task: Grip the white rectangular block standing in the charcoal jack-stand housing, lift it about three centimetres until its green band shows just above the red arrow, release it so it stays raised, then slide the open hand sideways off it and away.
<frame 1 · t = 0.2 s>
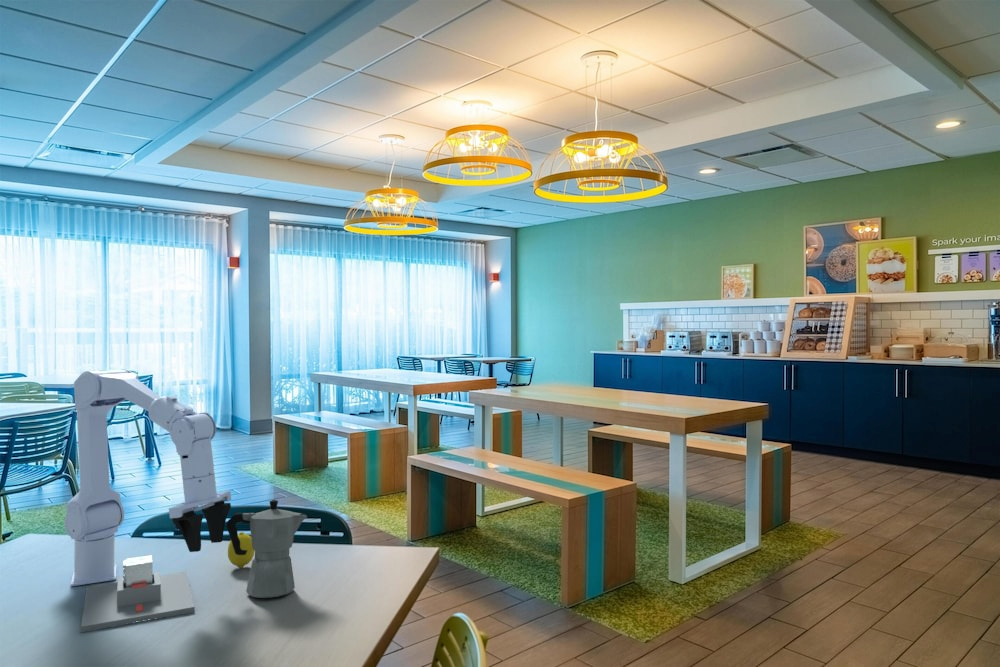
hand: (206, 546, 129), 11 cm above the table, tool pointing down, fingers open, 5 cm apart
coffeepot: (264, 592, 134), on the table, touching gripper
lemon: (241, 569, 147), on the table
jack base: (138, 601, 129), on the table
white rectangular block: (137, 578, 129), point 5 cm above the table, slide at 0.0 cm
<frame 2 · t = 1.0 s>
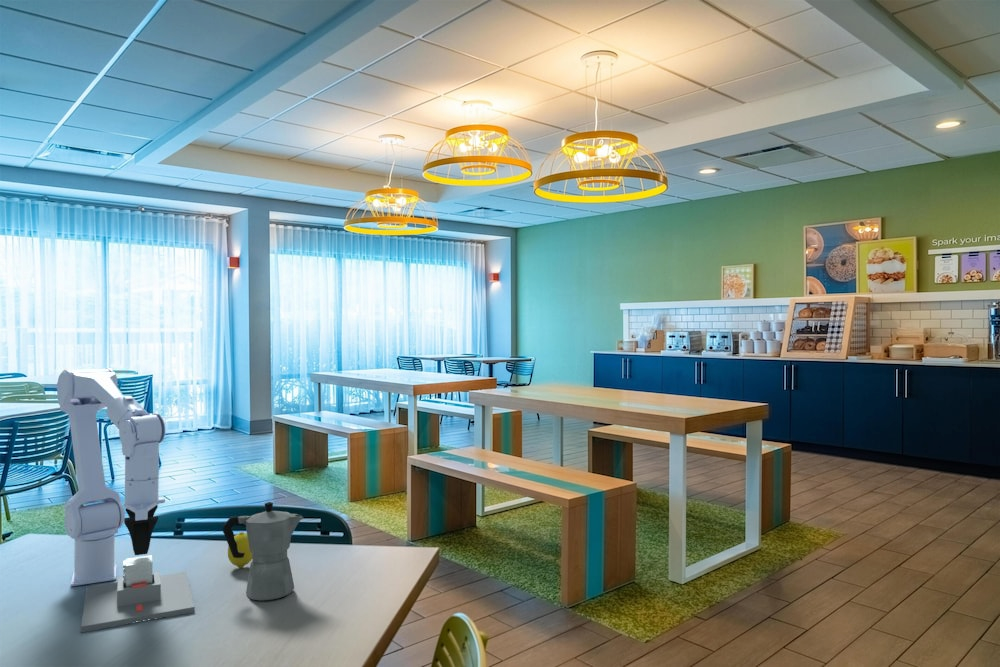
hand: (141, 548, 129), 10 cm above the table, tool pointing down, fingers open, 7 cm apart
coffeepot: (264, 593, 134), on the table
everything else where it was.
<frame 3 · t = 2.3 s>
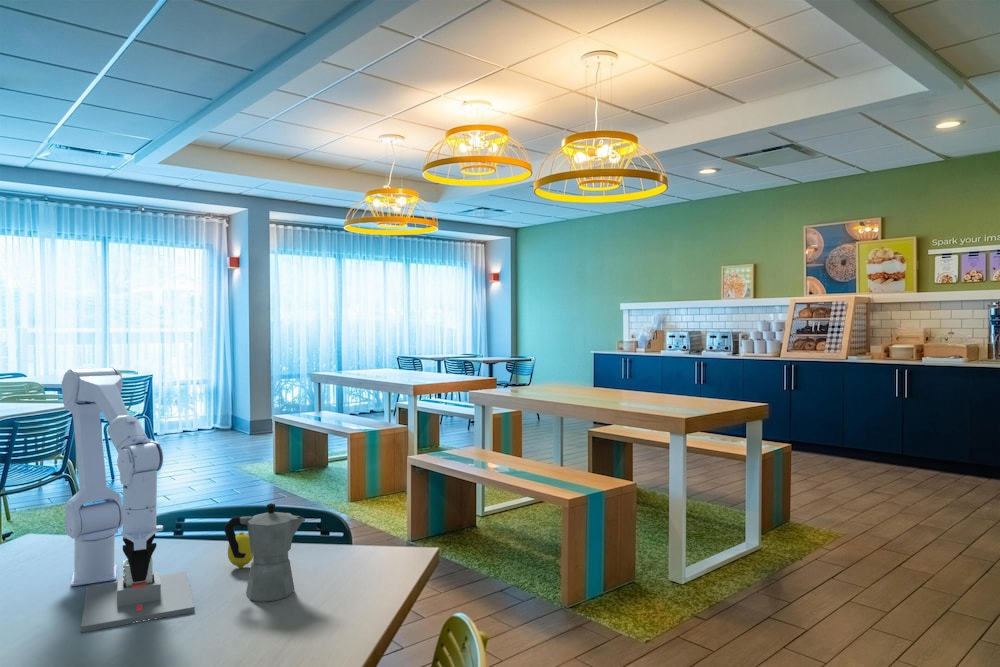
hand: (139, 576, 129), 5 cm above the table, tool pointing down, fingers closed on white rectangular block, 4 cm apart
white rectangular block: (137, 578, 129), point 5 cm above the table, slide at 0.0 cm, touching gripper
everything else where it was.
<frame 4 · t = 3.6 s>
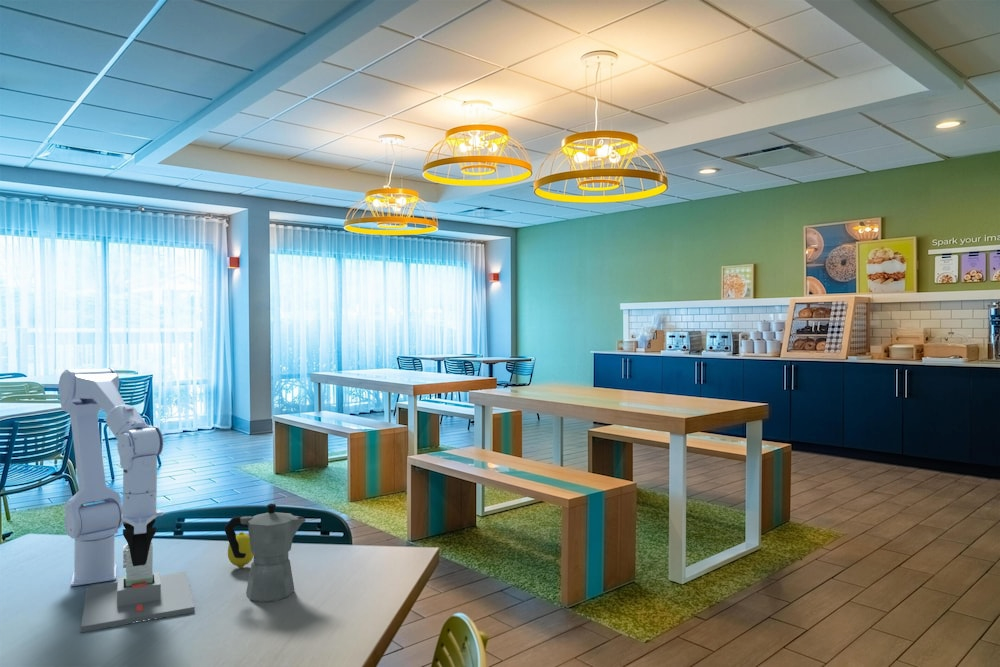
hand: (139, 560, 129), 8 cm above the table, tool pointing down, fingers closed on white rectangular block, 4 cm apart
white rectangular block: (138, 563, 129), point 7 cm above the table, slide at 2.9 cm, touching gripper
everything else where it was.
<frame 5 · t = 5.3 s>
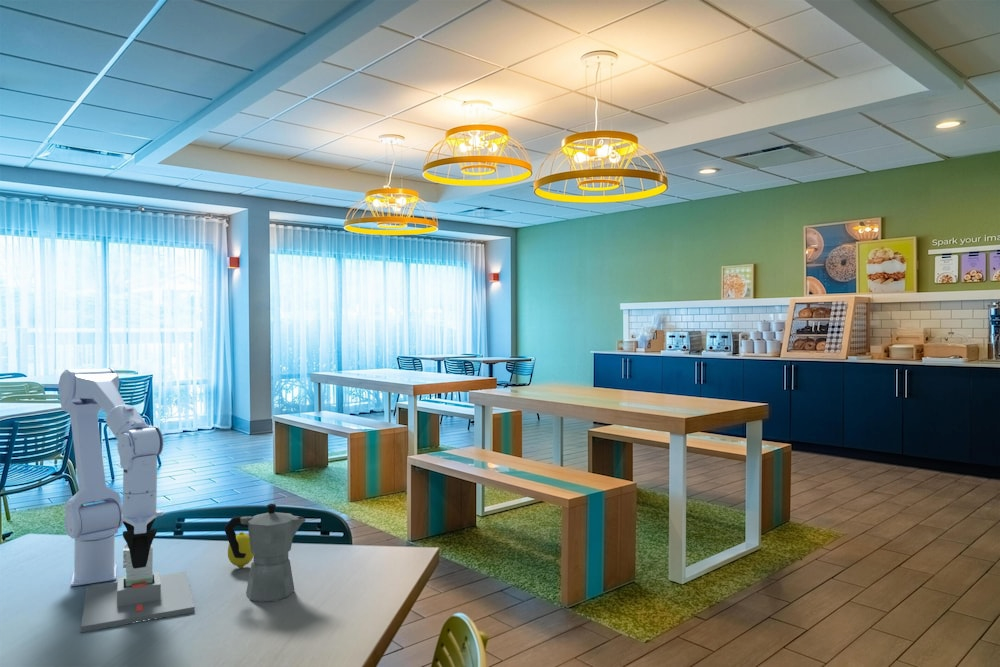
hand: (139, 560, 129), 8 cm above the table, tool pointing down, fingers open, 7 cm apart
white rectangular block: (138, 563, 129), point 7 cm above the table, slide at 2.9 cm
everything else where it was.
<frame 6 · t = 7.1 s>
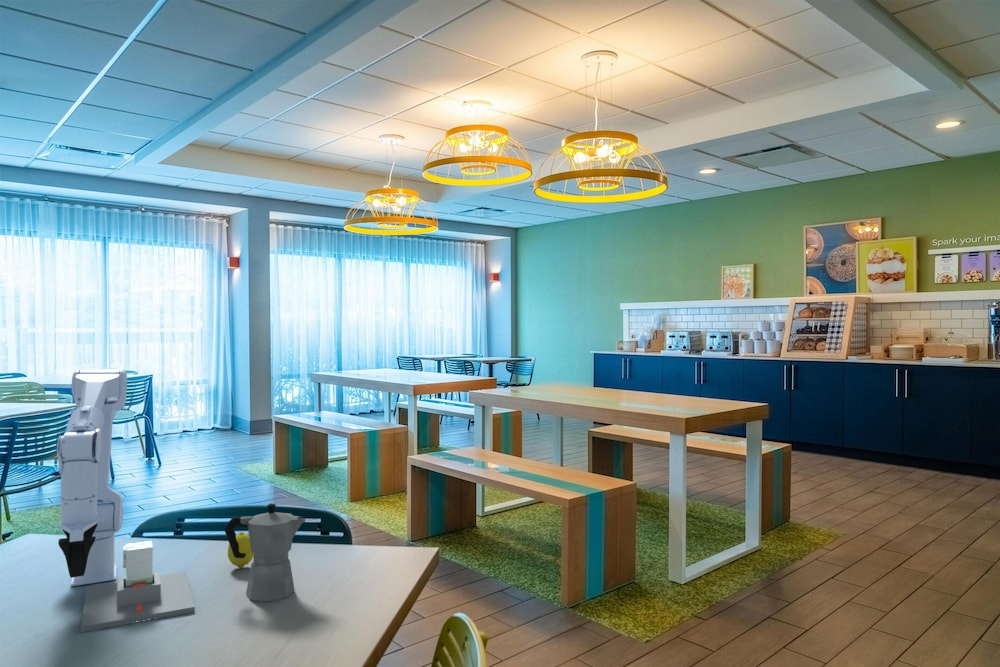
hand: (78, 569, 124), 8 cm above the table, tool pointing down, fingers open, 7 cm apart
nothing on the table moved.
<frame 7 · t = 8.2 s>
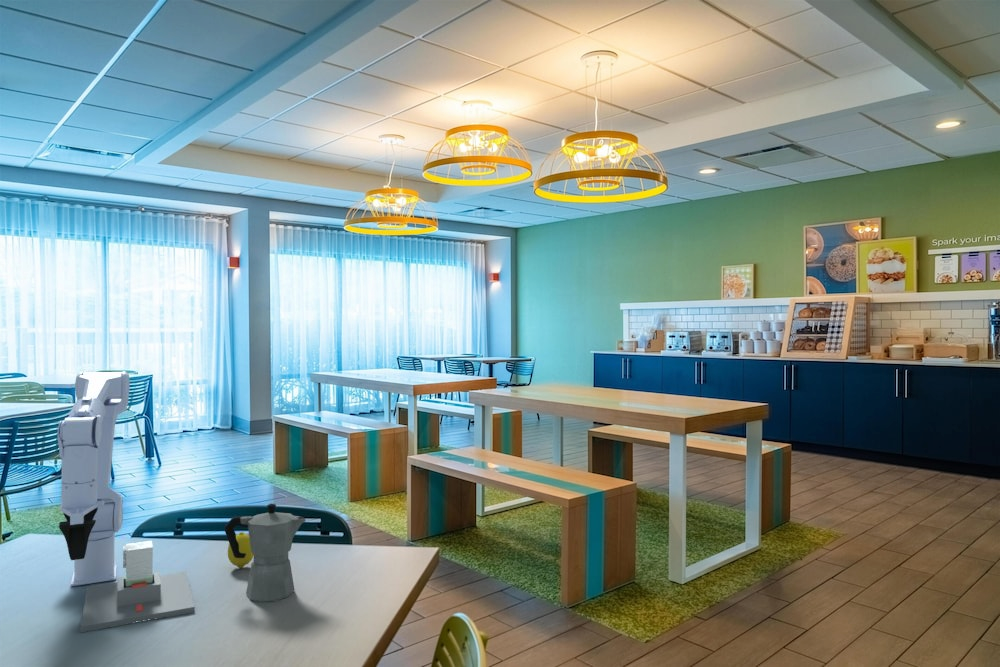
hand: (78, 552, 125), 10 cm above the table, tool pointing down, fingers open, 7 cm apart
nothing on the table moved.
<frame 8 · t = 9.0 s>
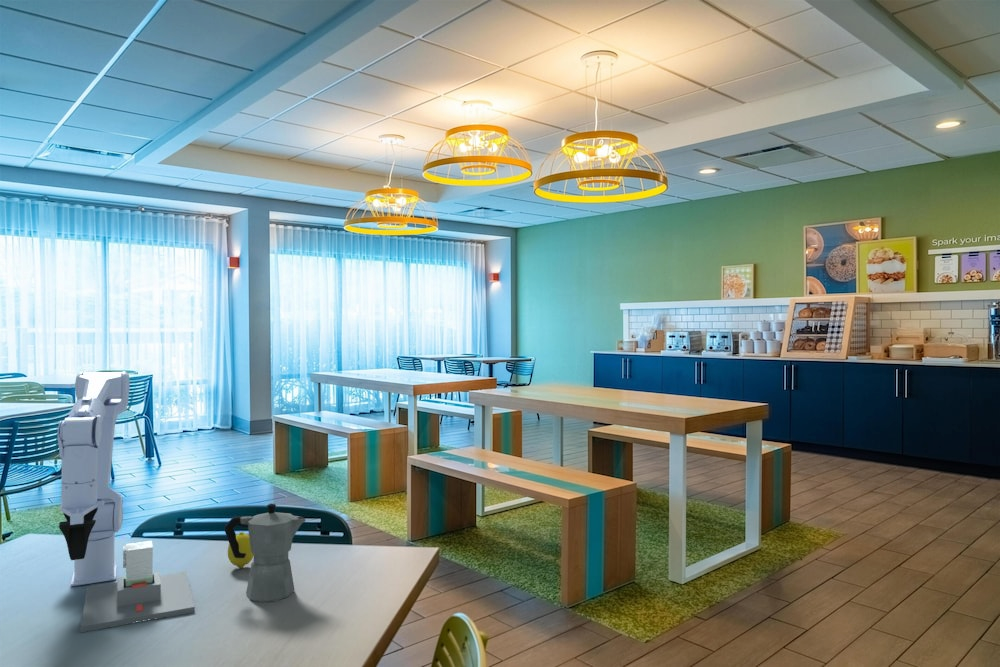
hand: (78, 552, 125), 10 cm above the table, tool pointing down, fingers open, 7 cm apart
nothing on the table moved.
at the end: white rectangular block slide at 2.9 cm; the gripper is holding nothing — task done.
